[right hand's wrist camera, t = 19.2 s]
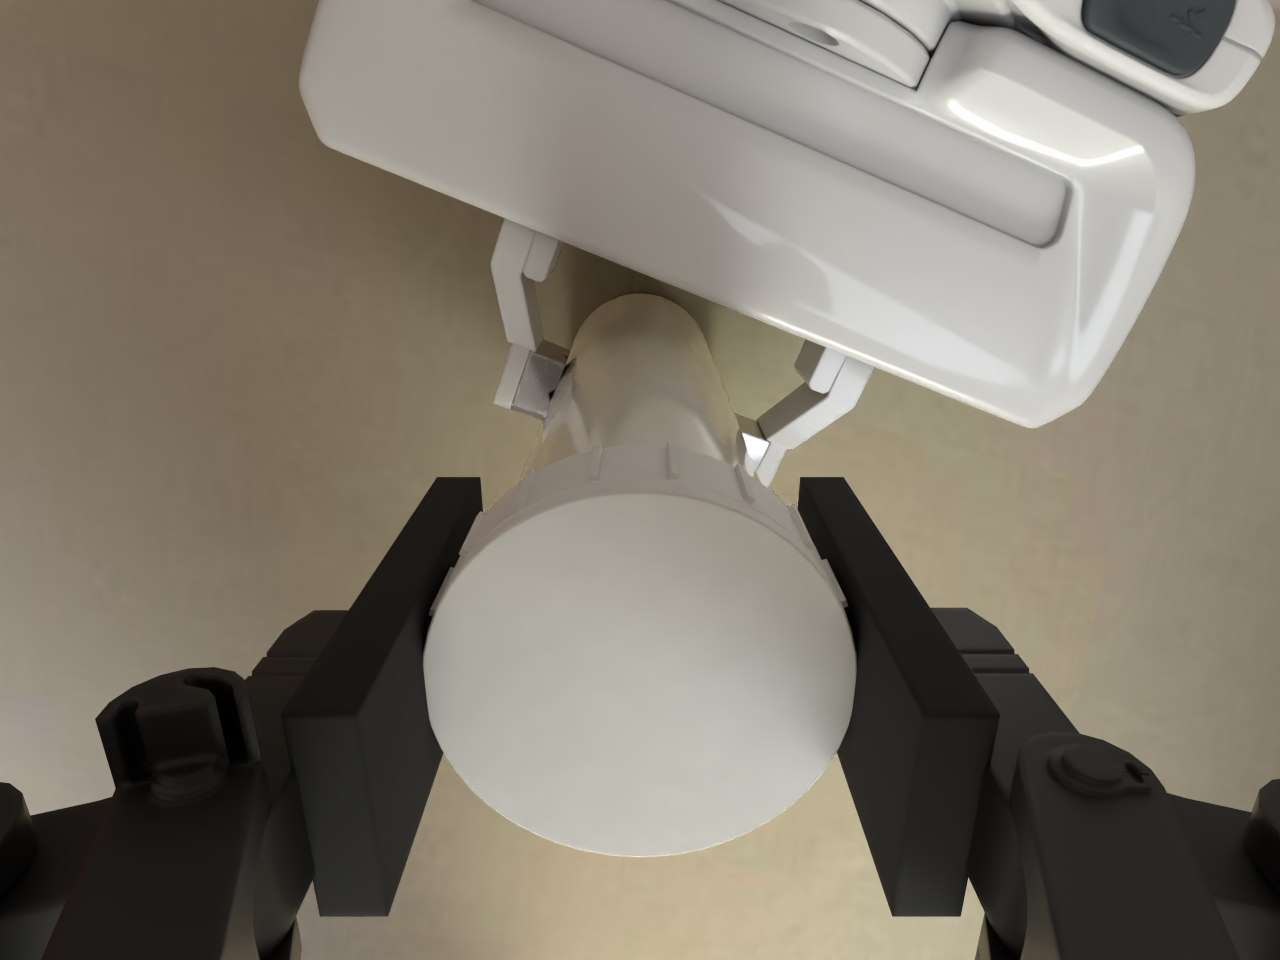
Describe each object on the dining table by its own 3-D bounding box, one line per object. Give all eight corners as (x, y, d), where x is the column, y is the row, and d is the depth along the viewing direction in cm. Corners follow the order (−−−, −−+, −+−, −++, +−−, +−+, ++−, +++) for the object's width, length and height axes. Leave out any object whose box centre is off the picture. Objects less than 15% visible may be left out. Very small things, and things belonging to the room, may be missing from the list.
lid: (909, 634, 12) (951, 707, 10) (623, 831, 13) (620, 922, 12) (661, 352, 11) (664, 386, 9) (367, 608, 12) (322, 677, 10)
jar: (586, 440, 29) (511, 817, 12) (557, 307, 27) (421, 530, 10) (719, 416, 29) (832, 770, 12) (697, 281, 27) (794, 466, 10)
